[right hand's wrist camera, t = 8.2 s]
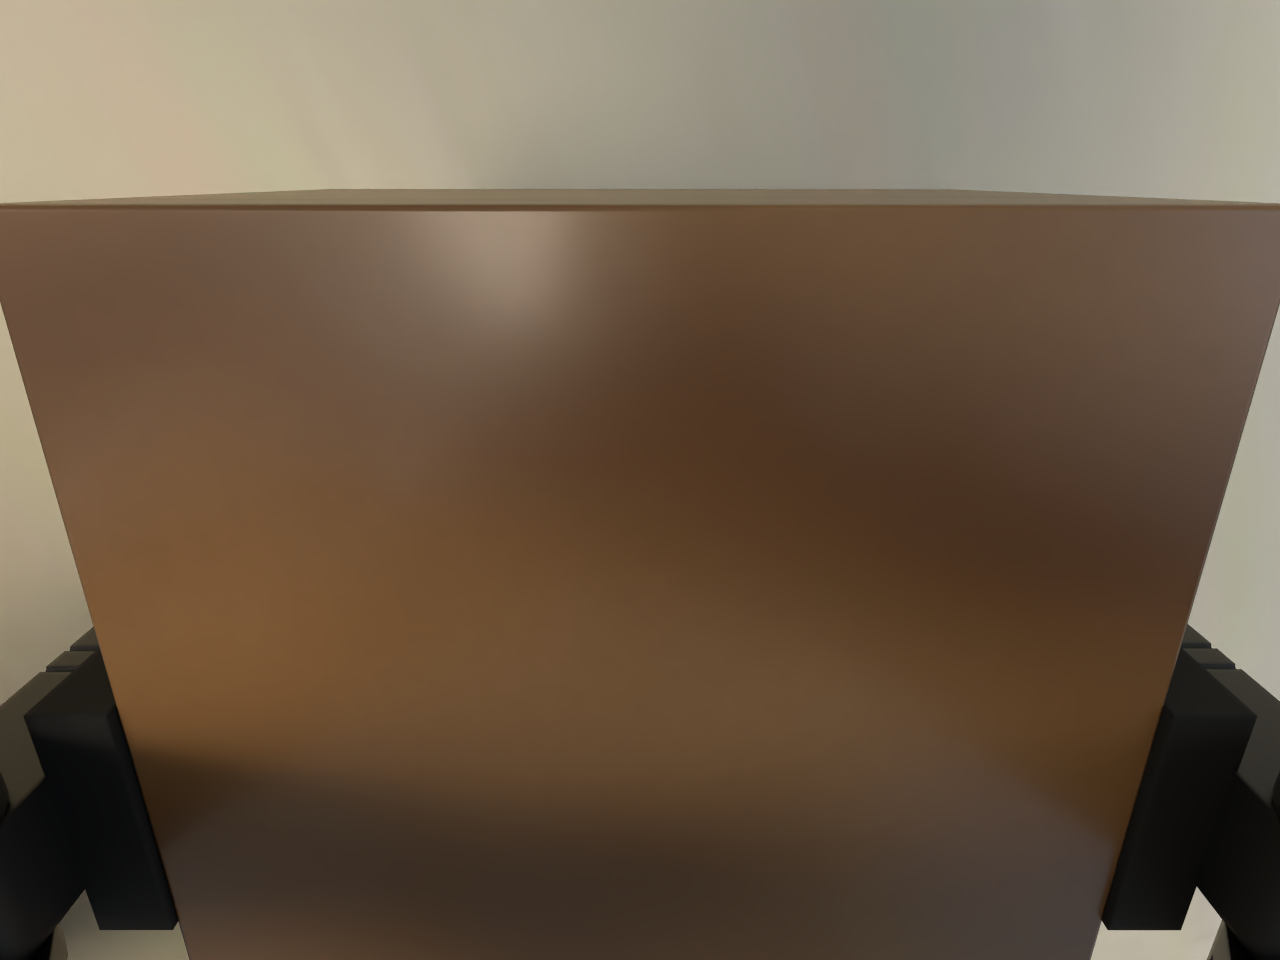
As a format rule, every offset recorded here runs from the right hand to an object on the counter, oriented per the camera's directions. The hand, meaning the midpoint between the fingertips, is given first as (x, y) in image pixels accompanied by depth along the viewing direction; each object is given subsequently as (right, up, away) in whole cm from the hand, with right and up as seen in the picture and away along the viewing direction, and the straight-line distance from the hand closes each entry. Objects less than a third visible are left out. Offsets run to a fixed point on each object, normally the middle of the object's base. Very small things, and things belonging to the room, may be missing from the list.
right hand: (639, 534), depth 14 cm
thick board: (0, -21, +9) cm, 23 cm away
